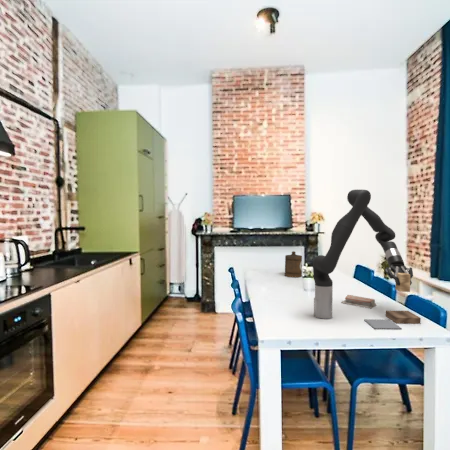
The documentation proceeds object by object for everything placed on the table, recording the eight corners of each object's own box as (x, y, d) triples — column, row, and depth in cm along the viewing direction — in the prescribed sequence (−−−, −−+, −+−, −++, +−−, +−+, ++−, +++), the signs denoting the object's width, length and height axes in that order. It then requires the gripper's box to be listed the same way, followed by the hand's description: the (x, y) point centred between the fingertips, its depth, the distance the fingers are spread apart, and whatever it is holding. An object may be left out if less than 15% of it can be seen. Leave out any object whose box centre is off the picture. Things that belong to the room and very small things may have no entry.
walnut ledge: (396, 323, 168) (396, 317, 168) (385, 316, 180) (385, 310, 180) (420, 323, 168) (420, 317, 167) (408, 316, 180) (408, 310, 179)
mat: (374, 329, 160) (374, 328, 160) (364, 320, 173) (364, 319, 173) (401, 329, 160) (401, 328, 160) (389, 320, 173) (389, 319, 173)
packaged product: (376, 298, 201) (370, 301, 193) (376, 306, 201) (370, 309, 194) (347, 293, 213) (341, 296, 206) (347, 300, 213) (341, 303, 206)
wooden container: (304, 277, 288) (304, 252, 288) (289, 278, 285) (289, 252, 284) (297, 274, 303) (297, 250, 302) (282, 274, 299) (282, 250, 299)
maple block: (400, 291, 171) (400, 274, 170) (395, 289, 176) (395, 272, 175) (409, 291, 171) (410, 274, 170) (405, 289, 176) (405, 272, 175)
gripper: (383, 254, 180) (393, 280, 169) (409, 254, 180) (421, 280, 168) (378, 262, 186) (388, 288, 174) (404, 262, 185) (415, 288, 174)
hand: (404, 284), depth 171 cm, fingers closed on maple block, 5 cm apart
